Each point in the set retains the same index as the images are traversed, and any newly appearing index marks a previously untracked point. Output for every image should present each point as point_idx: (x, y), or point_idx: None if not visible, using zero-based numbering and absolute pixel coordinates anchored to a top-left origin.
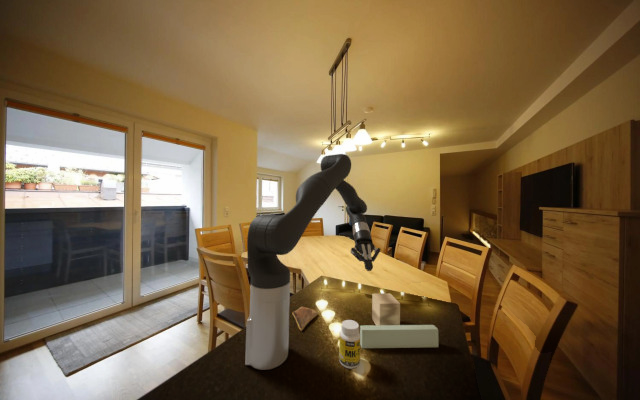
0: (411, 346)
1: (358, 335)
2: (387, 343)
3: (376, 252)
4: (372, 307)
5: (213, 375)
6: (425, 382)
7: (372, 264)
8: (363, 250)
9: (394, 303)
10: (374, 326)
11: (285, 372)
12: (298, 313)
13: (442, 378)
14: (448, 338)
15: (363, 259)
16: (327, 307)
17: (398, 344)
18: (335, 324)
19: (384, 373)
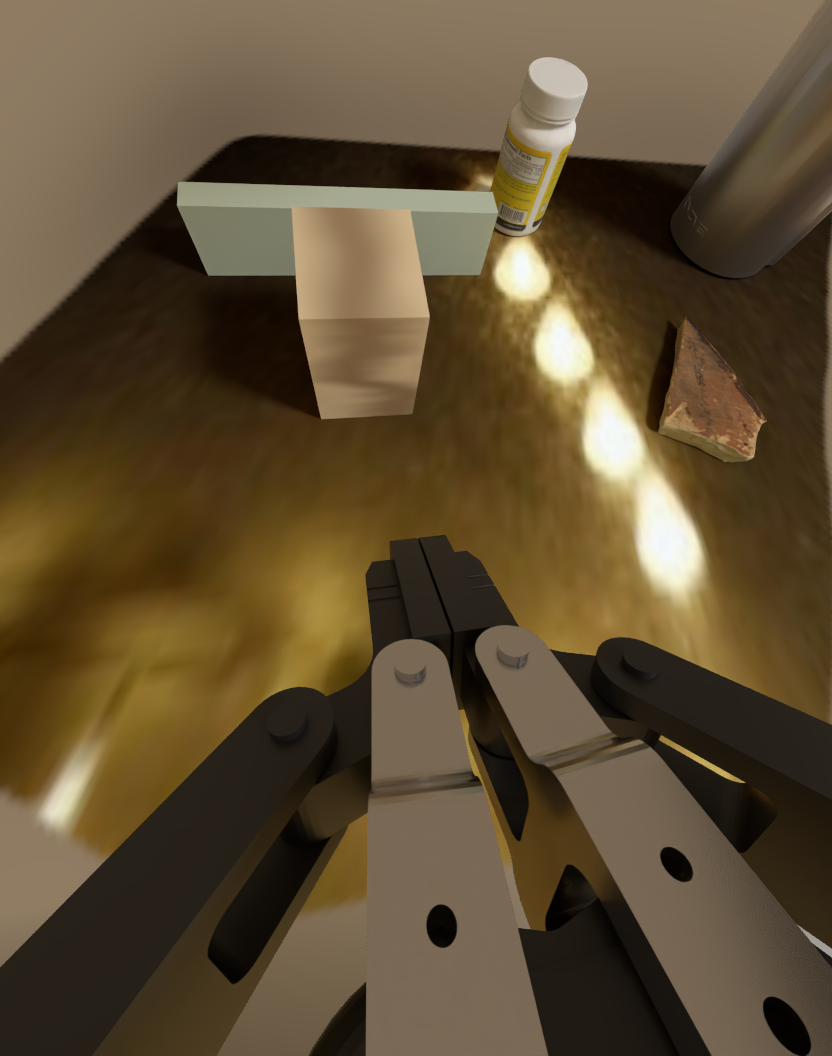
0: None
1: (518, 103)
2: None
3: (77, 1001)
4: (418, 374)
5: None
6: (332, 160)
7: (369, 599)
8: (741, 906)
9: (324, 207)
10: (443, 207)
11: (653, 199)
12: (738, 399)
13: (280, 166)
14: (126, 293)
15: (557, 652)
16: (629, 499)
17: None
18: (570, 367)
19: (426, 185)
